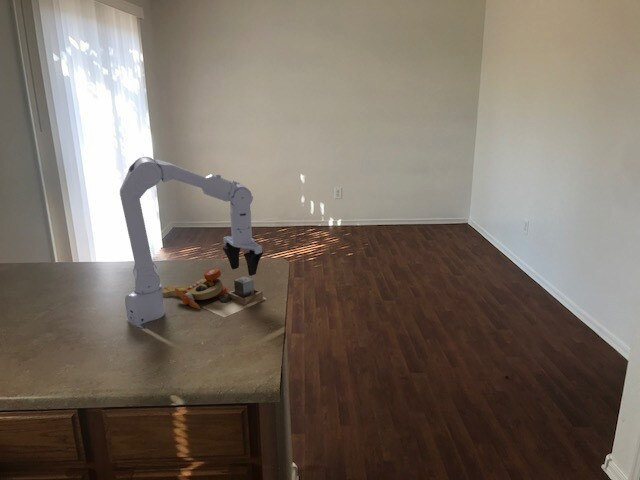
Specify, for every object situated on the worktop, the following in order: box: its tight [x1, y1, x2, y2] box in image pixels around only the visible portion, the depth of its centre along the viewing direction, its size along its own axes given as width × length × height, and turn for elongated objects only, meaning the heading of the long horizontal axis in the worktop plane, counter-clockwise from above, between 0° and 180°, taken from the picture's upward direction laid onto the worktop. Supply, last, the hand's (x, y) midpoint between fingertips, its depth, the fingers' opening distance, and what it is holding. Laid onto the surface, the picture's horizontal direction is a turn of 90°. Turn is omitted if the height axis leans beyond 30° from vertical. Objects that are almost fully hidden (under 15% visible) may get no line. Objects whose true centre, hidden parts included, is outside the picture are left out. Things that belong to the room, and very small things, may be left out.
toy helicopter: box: [162, 267, 228, 310], centre depth 151 cm, size 8×21×14 cm
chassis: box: [201, 288, 268, 318], centre depth 148 cm, size 16×10×3 cm, turn 139°
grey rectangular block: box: [233, 276, 255, 298], centre depth 150 cm, size 4×4×6 cm
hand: (243, 271), depth 148 cm, fingers open, 7 cm apart
